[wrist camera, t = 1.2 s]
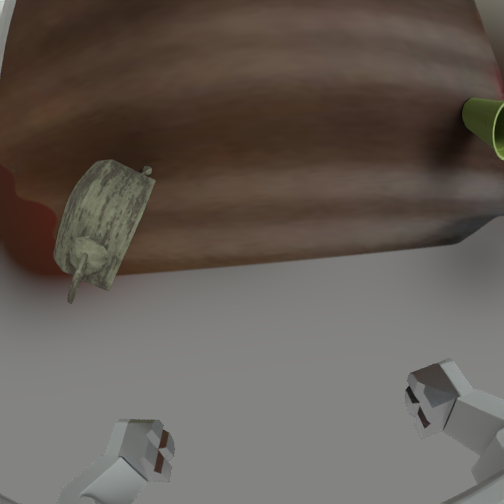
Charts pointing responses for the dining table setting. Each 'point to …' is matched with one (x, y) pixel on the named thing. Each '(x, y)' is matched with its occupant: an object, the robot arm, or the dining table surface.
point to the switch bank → (5, 23)
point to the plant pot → (486, 122)
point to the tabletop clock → (101, 222)
